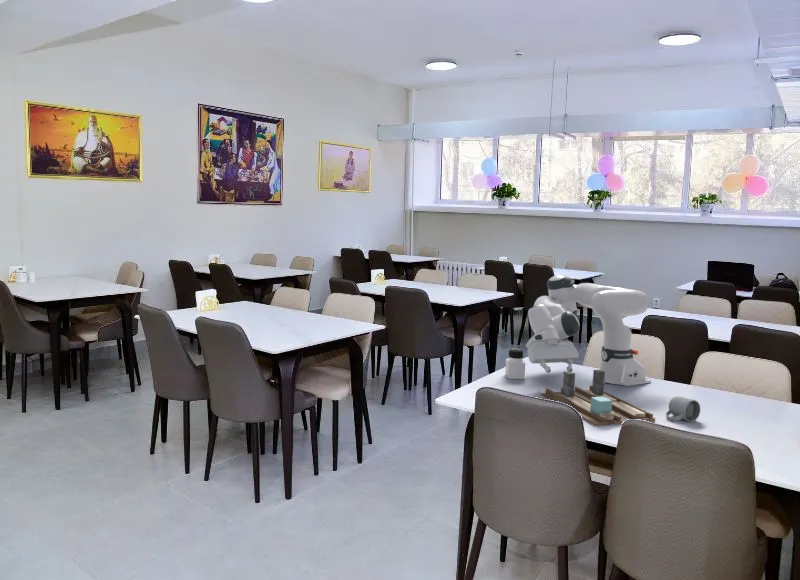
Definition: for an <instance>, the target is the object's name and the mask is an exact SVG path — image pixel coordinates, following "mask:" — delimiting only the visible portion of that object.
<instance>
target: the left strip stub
mask: <svg viewBox="0 0 800 580" xmlns="http://www.w3.org/2000/svg"><path fill="white" fill-rule="evenodd" d="M592 371H593V374H592V385H591V386H592V393H591V394H593V395H596V396H598V397H602V396H604V397H606V398H608V399H610V400H612V402H617V400H616V399H614V398H612V397H610V396H608V395H606V394H604V391H605V382H604V379H605V371H603V370H600V369H593V370H592Z"/></svg>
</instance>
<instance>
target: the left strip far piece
mask: <svg viewBox="0 0 800 580" xmlns="http://www.w3.org/2000/svg"><path fill="white" fill-rule="evenodd" d="M612 404H614V405H616V406H618V407H620V408H622V409H624V410H626V411H628V412H630V413H632V414H634V415H636V417H645V416H646V413H644V412H642V411H640V410H638V409H635V408H633V407H631V406H629V405H627V404H625V403H623V402H621V401H619V402H612Z"/></svg>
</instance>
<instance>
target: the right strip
mask: <svg viewBox="0 0 800 580" xmlns="http://www.w3.org/2000/svg"><path fill="white" fill-rule="evenodd" d="M575 382H576V373H575V372H573V371H563V379H562V388H563V393H562V395H561V396H563V397H565V398H567V399H569V400H571V401H573V402H574V403H576V404H578V405H580V406H582V407H584V408H586V409H588V410H589V411H590V407H591V404H590V403H588V402H586V401H584V400H582V399H580V398H578V397H576V396H574V391H575ZM600 416H601V417H603V418H604V420H613V419H614V412H604V413H600Z"/></svg>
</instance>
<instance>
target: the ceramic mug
mask: <svg viewBox="0 0 800 580" xmlns="http://www.w3.org/2000/svg"><path fill="white" fill-rule="evenodd" d="M700 413H701V404H700V403H699V401H698V400H695V399H692V398H687V397H684V396H673V398H671V399H670V402H669V403H668V410H667V411H666V412H665V416H666V419H667V420H668V421H671V422H677V421H680V420H683V421H686V422H689V423H692V422H695V421H696V420H697V419H698V418H699V416H700ZM670 415H672V417H671V416H670Z"/></svg>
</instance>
